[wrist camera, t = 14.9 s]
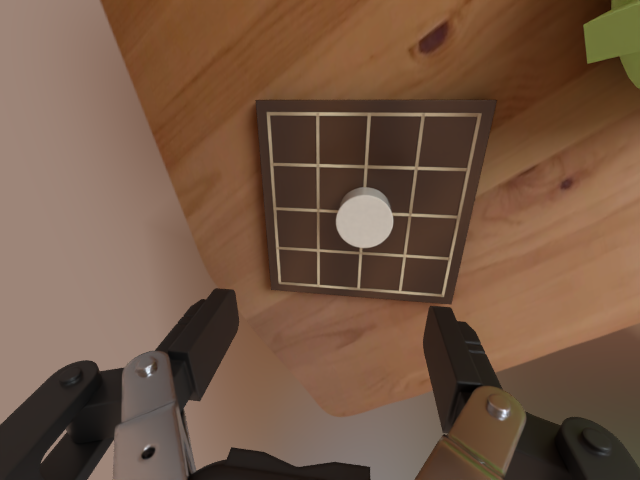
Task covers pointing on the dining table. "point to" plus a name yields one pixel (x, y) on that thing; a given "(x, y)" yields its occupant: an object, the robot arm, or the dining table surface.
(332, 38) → the dining table surface
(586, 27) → the teapot
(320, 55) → the dining table surface
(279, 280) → the board
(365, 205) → the white cylindrical puck
